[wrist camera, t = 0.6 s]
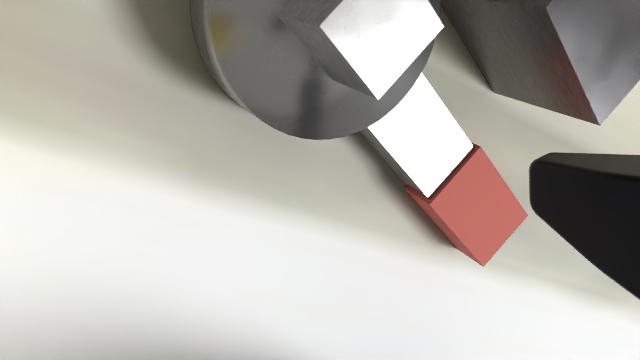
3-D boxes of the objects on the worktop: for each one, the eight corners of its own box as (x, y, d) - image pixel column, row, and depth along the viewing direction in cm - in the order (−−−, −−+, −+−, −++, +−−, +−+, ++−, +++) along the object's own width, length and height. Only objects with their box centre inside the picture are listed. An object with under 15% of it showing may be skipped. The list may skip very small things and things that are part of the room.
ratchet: (531, 164, 30) (621, 203, 26) (425, 285, 30) (498, 346, 25) (314, -186, 19) (410, -227, 14) (134, 5, 18) (174, 25, 14)
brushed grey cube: (576, -1, 27) (698, 11, 22) (494, 92, 27) (600, 125, 22) (530, -113, 24) (665, -127, 19) (434, -6, 23) (545, 7, 18)
